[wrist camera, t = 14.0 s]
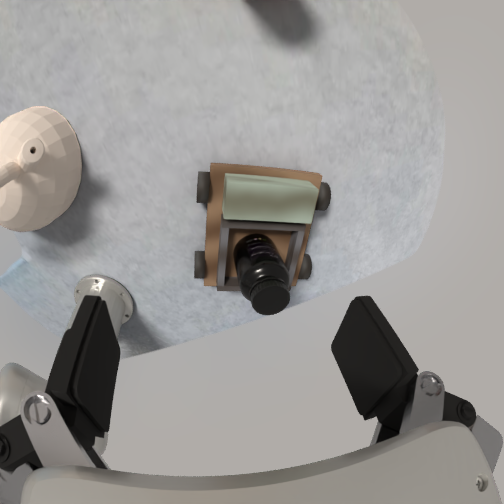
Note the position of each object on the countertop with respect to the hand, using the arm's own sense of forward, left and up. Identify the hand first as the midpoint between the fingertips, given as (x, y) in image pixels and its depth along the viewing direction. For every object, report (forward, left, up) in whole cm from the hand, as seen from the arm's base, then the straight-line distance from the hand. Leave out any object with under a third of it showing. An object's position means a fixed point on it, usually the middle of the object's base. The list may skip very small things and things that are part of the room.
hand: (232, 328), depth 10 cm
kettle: (-1, +30, -33) cm, 44 cm away
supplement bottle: (-14, -8, -29) cm, 33 cm away
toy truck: (-11, -8, -32) cm, 35 cm away
